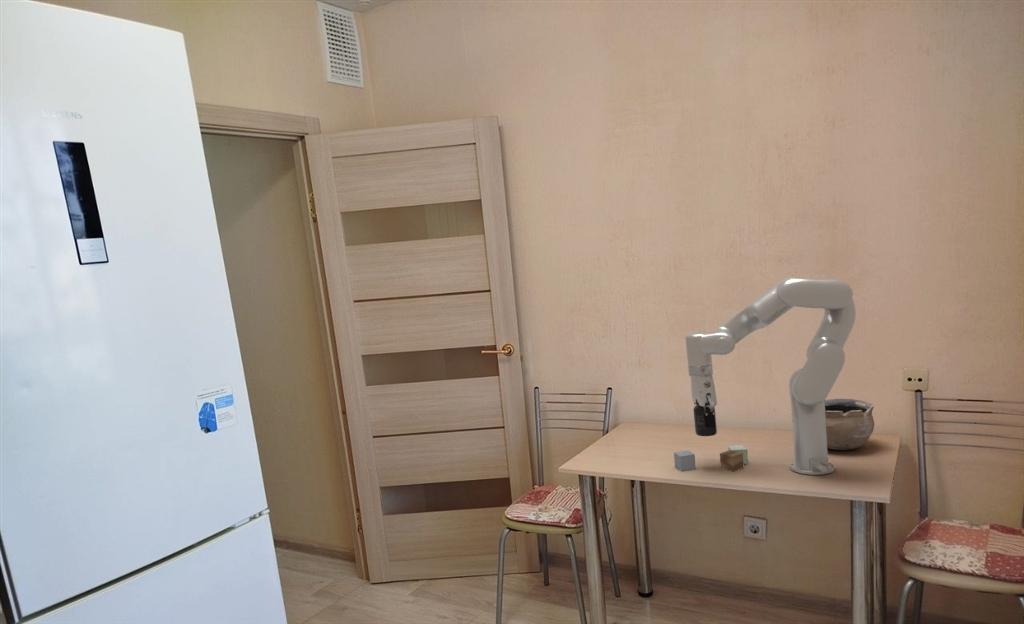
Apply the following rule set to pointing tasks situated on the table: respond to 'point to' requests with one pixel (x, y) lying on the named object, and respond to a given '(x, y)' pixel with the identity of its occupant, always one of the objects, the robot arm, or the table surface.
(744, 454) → the sage cube
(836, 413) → the ceramic bowl
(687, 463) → the slate cube
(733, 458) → the walnut cube
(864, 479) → the table surface
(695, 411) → the supplement bottle
